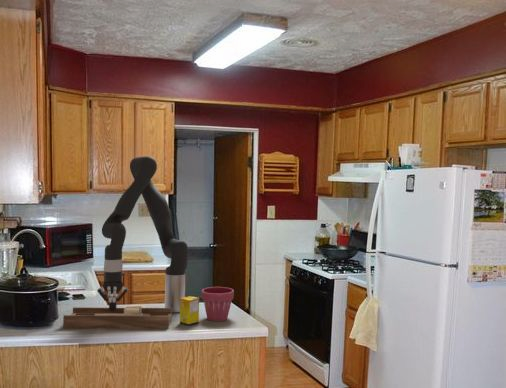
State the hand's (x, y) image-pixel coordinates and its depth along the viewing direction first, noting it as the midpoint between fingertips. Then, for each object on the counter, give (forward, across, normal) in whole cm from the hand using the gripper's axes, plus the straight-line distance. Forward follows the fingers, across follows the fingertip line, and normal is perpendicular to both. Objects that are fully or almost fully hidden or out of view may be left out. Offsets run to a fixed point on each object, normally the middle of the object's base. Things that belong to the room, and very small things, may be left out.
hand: (112, 310), depth 205 cm
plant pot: (+6, -44, -9) cm, 45 cm away
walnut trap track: (+5, -3, 0) cm, 6 cm away
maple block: (+2, -8, +1) cm, 9 cm away
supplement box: (+6, -32, -1) cm, 32 cm away
